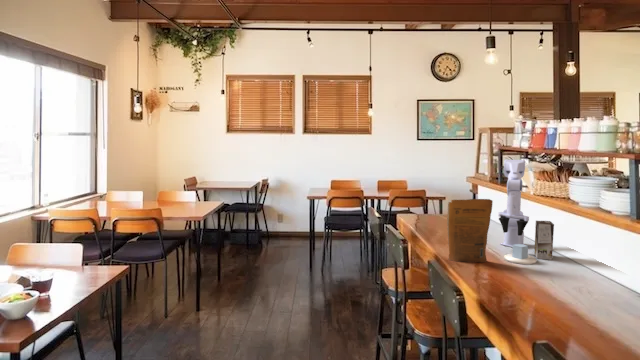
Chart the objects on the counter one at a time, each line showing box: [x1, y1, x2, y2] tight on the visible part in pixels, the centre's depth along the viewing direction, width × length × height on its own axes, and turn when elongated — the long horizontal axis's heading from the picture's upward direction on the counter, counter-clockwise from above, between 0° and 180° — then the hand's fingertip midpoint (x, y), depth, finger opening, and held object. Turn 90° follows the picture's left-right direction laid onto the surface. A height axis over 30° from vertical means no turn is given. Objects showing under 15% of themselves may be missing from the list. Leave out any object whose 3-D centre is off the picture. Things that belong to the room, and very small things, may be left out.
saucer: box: [503, 253, 537, 265], centre depth 187 cm, size 13×13×1 cm
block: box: [511, 244, 529, 259], centre depth 187 cm, size 4×4×6 cm
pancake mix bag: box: [446, 198, 494, 263], centre depth 185 cm, size 7×19×28 cm, turn 81°
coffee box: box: [533, 220, 555, 261], centre depth 192 cm, size 9×6×16 cm
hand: (512, 233), depth 197 cm, fingers open, 7 cm apart
